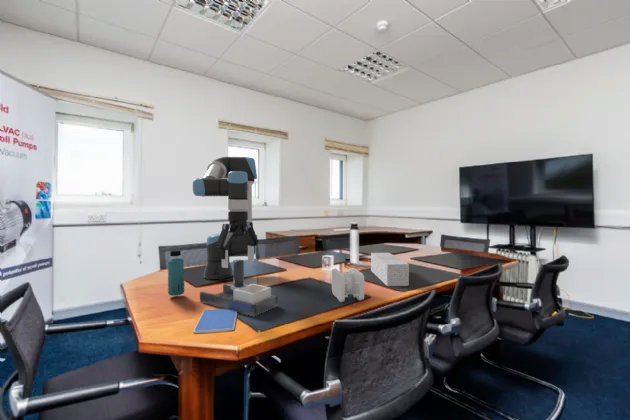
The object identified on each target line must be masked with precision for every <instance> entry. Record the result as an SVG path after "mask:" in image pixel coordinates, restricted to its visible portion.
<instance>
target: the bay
mask: <svg viewBox="0 0 630 420" xmlns="http://www.w3.org/2000/svg"><path fill="white" fill-rule="evenodd" d="M230 286H231V285H228V284H223V285H222V292H218V293H216V294H214V293H210V292H206V291H200V292H199V302H200V303H202V304H203V303H204V304H206V305H210V306H214V307H217V308H219V309H232V310H235V311H237V312H238V313H237V314H241V313H242V315H244V314H245V315H244V316H248V315H249V316H248V317H251V316H253V317H252V318H255V316H256V317H257V315H258V316H260V315H261V313H262V314H264V313H266V311H267V312H269V311H271V310H273V309H275V308H277V307H278V299H279V298H278V295H275V294H271V298H268V299H266V300H264V301H261V302H259V303H256V304H250V303H246V302H242V301H238V300H234V299H233V289H230ZM272 308H273V309H272ZM270 309H271V310H270ZM268 310H269V311H268ZM259 314H260V315H259Z"/></svg>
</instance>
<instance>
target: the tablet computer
mask: <svg viewBox="0 0 630 420" xmlns="http://www.w3.org/2000/svg"><path fill="white" fill-rule="evenodd" d="M237 317H238V313H237V311H235V310H232V309H223V308H218V309H217V308H216V309H204V310H203V311H202V313H201V315H200V317H199V319H198V320H197V323H196V325H195V327H194V329H193V331H192V333H193V334H209V333H211V334H212V333H221V332H224V333H225V332H231V331H234V330H235V326H236V321H237Z"/></svg>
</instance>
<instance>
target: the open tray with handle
mask: <svg viewBox="0 0 630 420" xmlns="http://www.w3.org/2000/svg"><path fill="white" fill-rule="evenodd" d="M244 262H245V261H244V259H234V260H233V261H232V263H233V266H232V270H233V276H232V277H233V279H232V280H233V282H232V283H233V285H229V286H230V289H233V299H234V300H238V301H242V302H246V303H250V304H256V303H259V302H261V301H264V300H266V299H268V298H271V295H272V287H271V286H266V285H260V284H255V283H250V284H245V280H244V279H245V275H244V274H245V272H244V271H245V269H244V268H245V266H244V265H245V263H244Z"/></svg>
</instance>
